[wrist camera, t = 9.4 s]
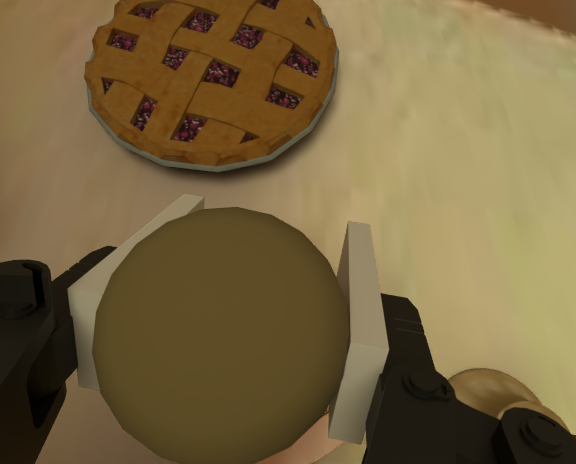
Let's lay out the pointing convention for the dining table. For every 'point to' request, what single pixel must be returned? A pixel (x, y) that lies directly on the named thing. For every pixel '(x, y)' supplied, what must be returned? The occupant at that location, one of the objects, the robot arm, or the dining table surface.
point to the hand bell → (497, 393)
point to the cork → (221, 337)
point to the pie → (211, 79)
